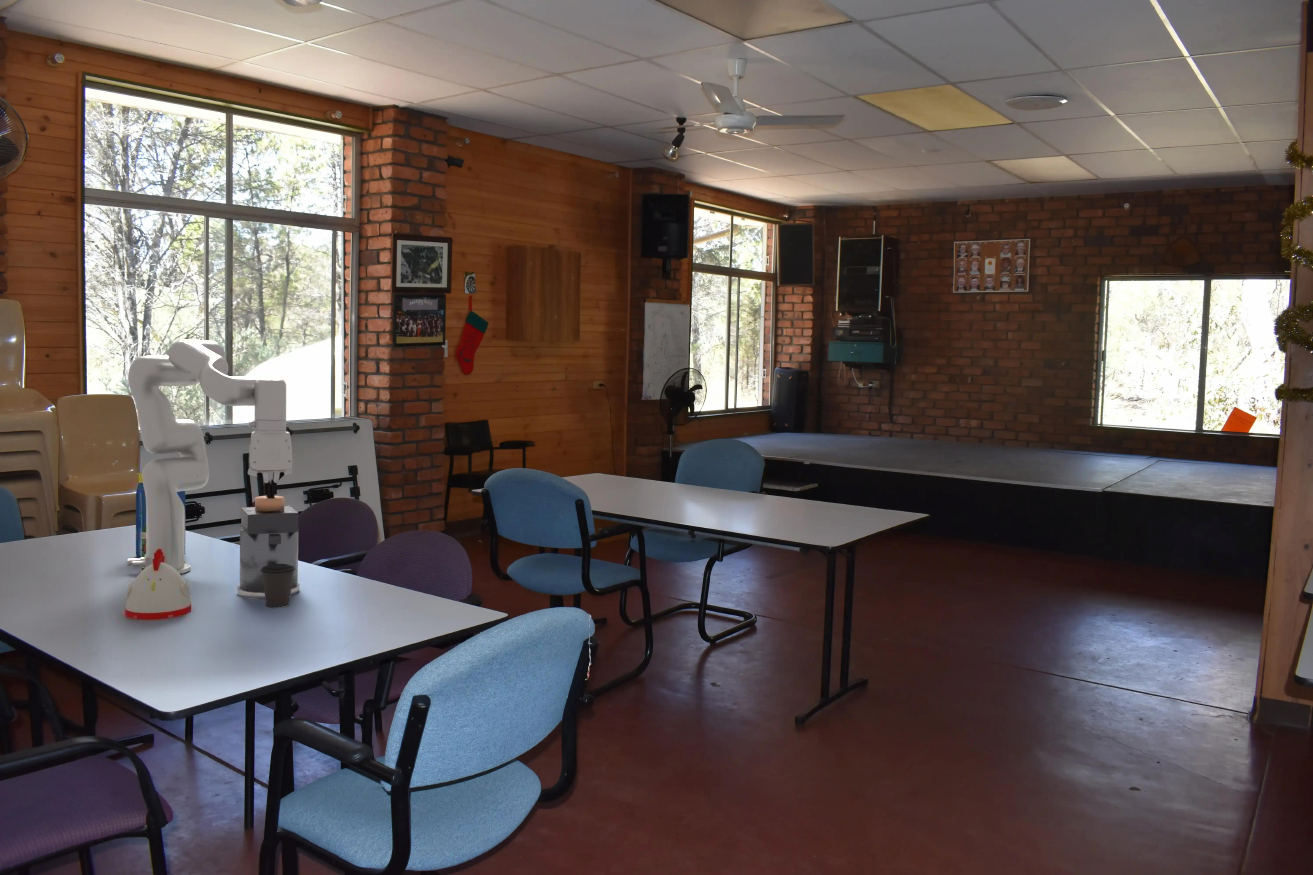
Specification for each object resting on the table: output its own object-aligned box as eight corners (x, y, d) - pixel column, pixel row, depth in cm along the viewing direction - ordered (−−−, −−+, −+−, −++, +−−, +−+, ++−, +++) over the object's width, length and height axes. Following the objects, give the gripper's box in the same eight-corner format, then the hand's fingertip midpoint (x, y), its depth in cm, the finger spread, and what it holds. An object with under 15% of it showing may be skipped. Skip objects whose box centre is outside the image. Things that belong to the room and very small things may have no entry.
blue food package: (135, 556, 285) (135, 472, 283) (178, 551, 293) (179, 470, 291) (141, 559, 280) (141, 474, 279) (185, 555, 289) (185, 472, 287)
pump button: (257, 529, 243) (257, 500, 242) (253, 524, 249) (253, 496, 248) (286, 527, 246) (286, 498, 246) (281, 523, 252) (281, 495, 252)
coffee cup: (282, 610, 232) (283, 569, 231) (253, 607, 234) (253, 566, 233) (301, 602, 240) (302, 562, 239) (272, 599, 242) (273, 560, 241)
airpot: (243, 604, 236) (243, 517, 234) (233, 588, 252) (234, 506, 250) (306, 598, 244) (307, 515, 242) (294, 583, 259) (295, 504, 258)
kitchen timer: (117, 620, 218) (117, 555, 217) (133, 605, 231) (133, 544, 230) (184, 618, 222) (185, 554, 220) (196, 604, 235) (196, 543, 234)
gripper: (240, 427, 239) (240, 500, 240) (303, 427, 246) (303, 498, 248) (236, 425, 245) (237, 497, 246) (298, 425, 253) (298, 494, 254)
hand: (270, 497), depth 247 cm, fingers closed
